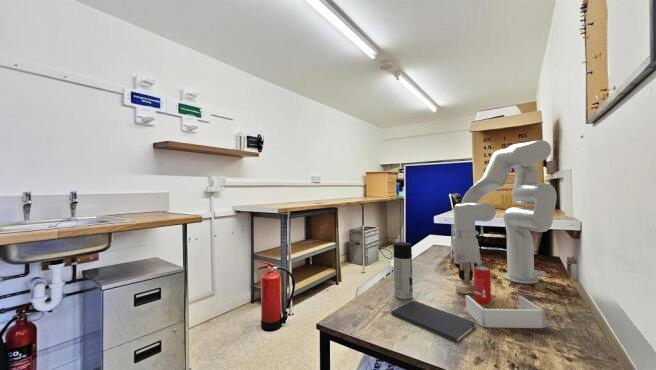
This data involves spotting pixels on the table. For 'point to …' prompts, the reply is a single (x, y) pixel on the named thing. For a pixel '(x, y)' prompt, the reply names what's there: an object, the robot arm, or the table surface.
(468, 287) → the wooden block structure
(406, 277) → the spray can
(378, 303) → the table surface
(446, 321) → the notebook
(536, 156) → the robot arm
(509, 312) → the box
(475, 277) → the beverage can
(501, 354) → the table surface
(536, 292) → the table surface
